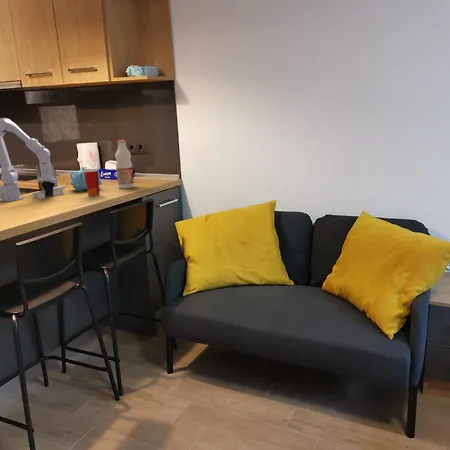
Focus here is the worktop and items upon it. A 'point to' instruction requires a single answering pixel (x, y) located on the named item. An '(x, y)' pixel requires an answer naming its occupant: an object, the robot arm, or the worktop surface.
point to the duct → (41, 195)
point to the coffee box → (41, 177)
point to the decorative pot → (80, 180)
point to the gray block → (47, 195)
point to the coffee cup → (92, 181)
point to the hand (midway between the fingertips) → (49, 195)
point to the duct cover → (58, 187)
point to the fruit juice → (124, 166)
